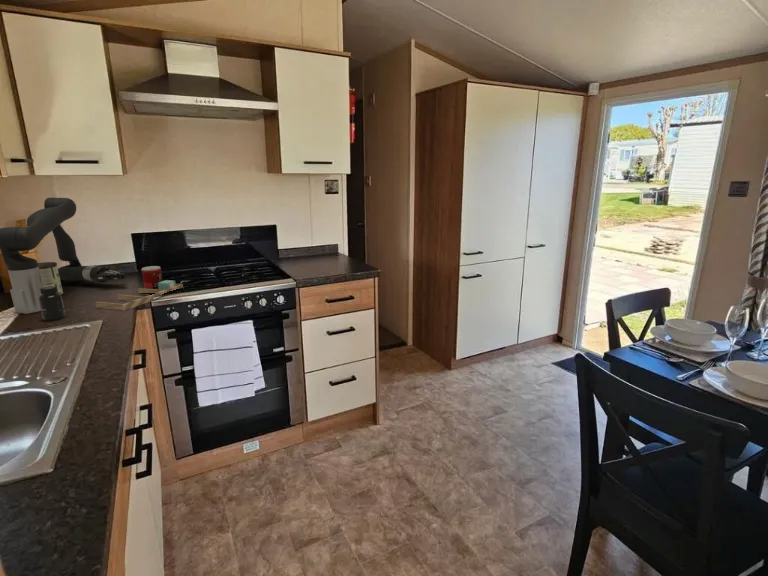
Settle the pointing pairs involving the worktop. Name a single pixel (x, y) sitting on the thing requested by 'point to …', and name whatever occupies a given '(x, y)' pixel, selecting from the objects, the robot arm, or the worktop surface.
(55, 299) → the supplement bottle
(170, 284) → the plain green block
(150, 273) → the canned food
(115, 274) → the robot arm
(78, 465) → the worktop surface
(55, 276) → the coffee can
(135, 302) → the bay rack
